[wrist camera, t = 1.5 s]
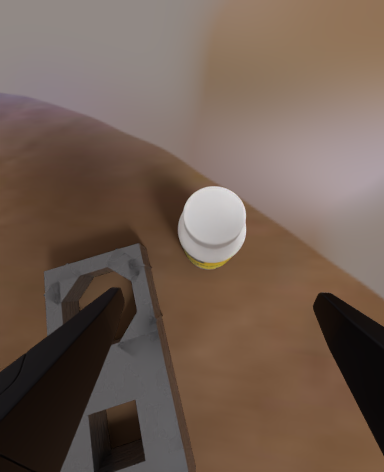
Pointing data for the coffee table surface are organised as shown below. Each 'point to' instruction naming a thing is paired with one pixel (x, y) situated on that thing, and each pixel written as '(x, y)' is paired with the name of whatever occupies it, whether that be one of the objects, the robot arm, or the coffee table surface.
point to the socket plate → (125, 373)
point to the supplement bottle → (212, 227)
